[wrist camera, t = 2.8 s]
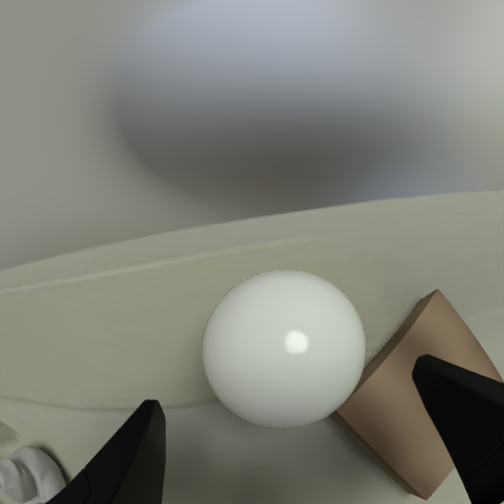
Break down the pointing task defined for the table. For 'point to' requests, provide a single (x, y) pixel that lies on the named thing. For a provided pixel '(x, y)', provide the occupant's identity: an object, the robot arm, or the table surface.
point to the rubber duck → (30, 476)
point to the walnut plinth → (410, 396)
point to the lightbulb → (284, 349)
